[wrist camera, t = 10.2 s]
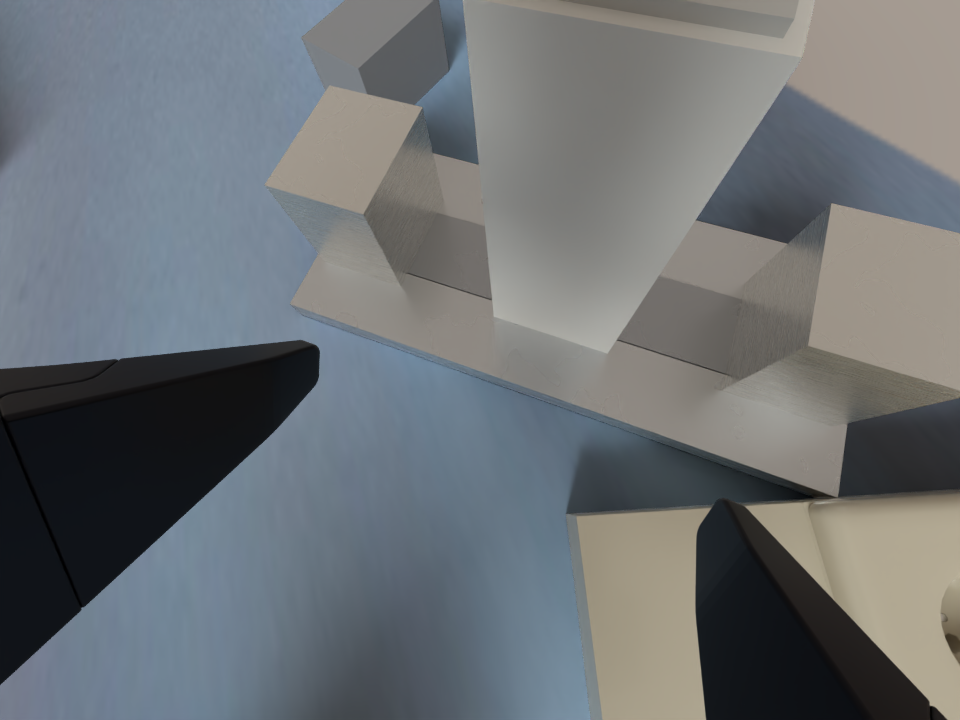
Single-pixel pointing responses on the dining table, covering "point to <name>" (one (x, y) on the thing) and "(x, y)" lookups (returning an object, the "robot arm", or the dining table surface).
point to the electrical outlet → (816, 547)
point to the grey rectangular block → (380, 48)
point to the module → (611, 140)
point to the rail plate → (657, 321)
